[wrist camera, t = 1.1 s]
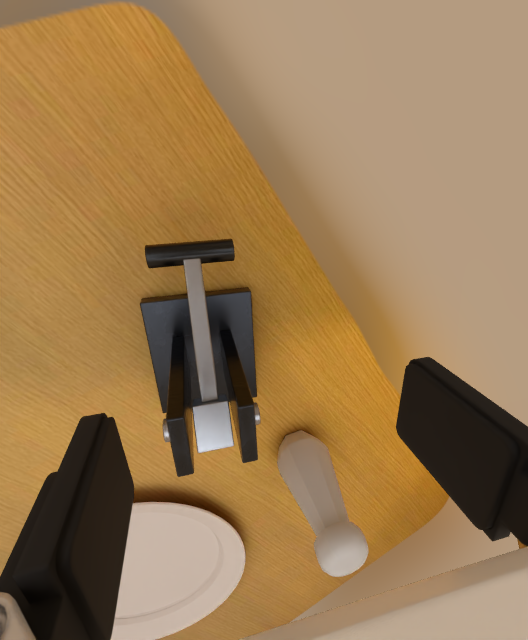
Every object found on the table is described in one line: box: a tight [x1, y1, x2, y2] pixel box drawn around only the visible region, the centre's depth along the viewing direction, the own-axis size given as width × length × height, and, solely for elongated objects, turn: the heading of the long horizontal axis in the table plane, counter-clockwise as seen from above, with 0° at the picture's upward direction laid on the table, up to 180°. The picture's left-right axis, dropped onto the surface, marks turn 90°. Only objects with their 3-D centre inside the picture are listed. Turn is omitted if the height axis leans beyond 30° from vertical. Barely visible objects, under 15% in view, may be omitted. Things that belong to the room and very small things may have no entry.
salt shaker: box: [277, 430, 368, 577], centre depth 31 cm, size 6×6×13 cm
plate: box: [110, 502, 245, 640], centre depth 38 cm, size 26×26×2 cm
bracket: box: [140, 287, 260, 477], centre depth 24 cm, size 11×9×12 cm
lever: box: [145, 239, 235, 453], centre depth 21 cm, size 13×6×2 cm, turn 2°
